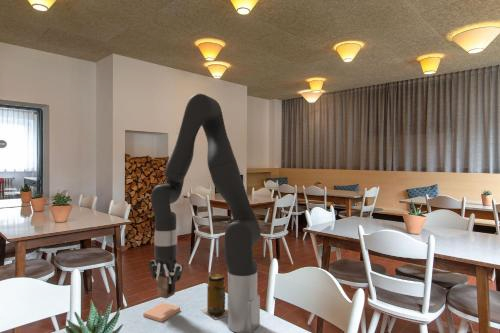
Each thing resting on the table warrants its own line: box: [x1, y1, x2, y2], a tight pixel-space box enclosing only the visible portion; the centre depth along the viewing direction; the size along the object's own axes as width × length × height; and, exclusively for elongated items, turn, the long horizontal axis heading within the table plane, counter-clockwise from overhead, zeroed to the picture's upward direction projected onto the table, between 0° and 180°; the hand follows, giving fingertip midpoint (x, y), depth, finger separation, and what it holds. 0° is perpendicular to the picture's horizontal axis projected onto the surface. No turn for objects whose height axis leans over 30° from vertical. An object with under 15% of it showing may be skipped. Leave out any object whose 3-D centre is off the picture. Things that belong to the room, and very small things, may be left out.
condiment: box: [201, 273, 228, 320], centre depth 110 cm, size 7×8×12 cm
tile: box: [142, 302, 181, 323], centre depth 109 cm, size 8×2×9 cm
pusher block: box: [157, 273, 176, 299], centre depth 110 cm, size 4×4×7 cm
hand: (166, 292), depth 111 cm, fingers closed on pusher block, 4 cm apart
